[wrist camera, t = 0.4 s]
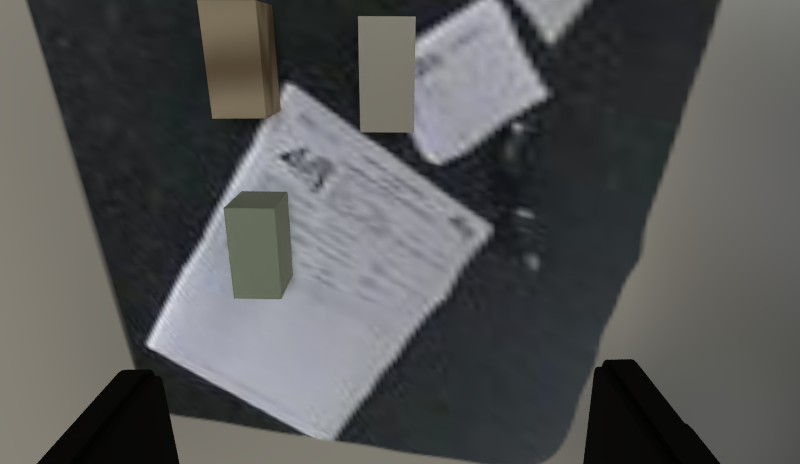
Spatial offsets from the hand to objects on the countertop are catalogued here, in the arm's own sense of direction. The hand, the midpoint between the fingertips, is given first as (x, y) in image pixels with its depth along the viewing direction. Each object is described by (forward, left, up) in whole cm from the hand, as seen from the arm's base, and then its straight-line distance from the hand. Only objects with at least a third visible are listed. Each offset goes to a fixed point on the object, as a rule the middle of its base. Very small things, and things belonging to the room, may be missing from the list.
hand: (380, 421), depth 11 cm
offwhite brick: (-5, 0, -34) cm, 35 cm away
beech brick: (-6, -11, -34) cm, 37 cm away
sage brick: (+8, -11, -34) cm, 37 cm away
